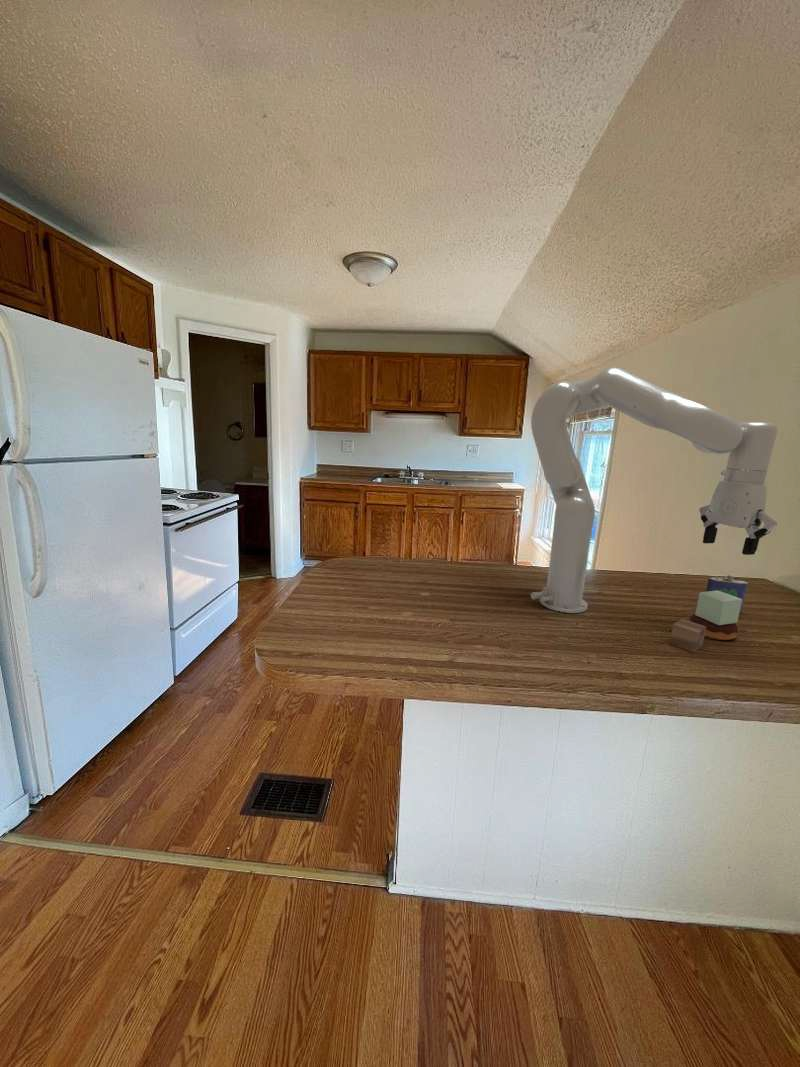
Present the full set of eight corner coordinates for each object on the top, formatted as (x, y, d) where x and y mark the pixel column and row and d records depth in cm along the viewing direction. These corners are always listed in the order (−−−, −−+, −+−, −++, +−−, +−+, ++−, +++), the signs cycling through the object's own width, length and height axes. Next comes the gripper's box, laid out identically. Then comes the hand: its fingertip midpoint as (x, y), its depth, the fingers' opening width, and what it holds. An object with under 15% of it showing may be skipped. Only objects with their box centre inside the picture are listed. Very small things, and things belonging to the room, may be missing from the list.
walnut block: (693, 652, 95) (698, 632, 94) (669, 643, 99) (673, 624, 98) (702, 646, 98) (706, 626, 97) (678, 638, 102) (682, 618, 101)
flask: (738, 610, 119) (747, 574, 117) (743, 615, 117) (752, 578, 114) (701, 606, 122) (708, 570, 119) (705, 610, 119) (712, 574, 117)
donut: (677, 627, 108) (680, 613, 107) (702, 621, 112) (705, 607, 111) (719, 645, 99) (723, 630, 98) (745, 639, 103) (748, 623, 102)
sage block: (719, 625, 101) (724, 601, 100) (695, 615, 107) (699, 592, 105) (737, 622, 103) (742, 599, 101) (712, 612, 108) (717, 590, 107)
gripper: (697, 472, 106) (683, 539, 110) (773, 482, 90) (753, 560, 94) (720, 473, 108) (705, 538, 112) (798, 482, 92) (777, 558, 96)
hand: (727, 548), depth 103 cm, fingers open, 9 cm apart
